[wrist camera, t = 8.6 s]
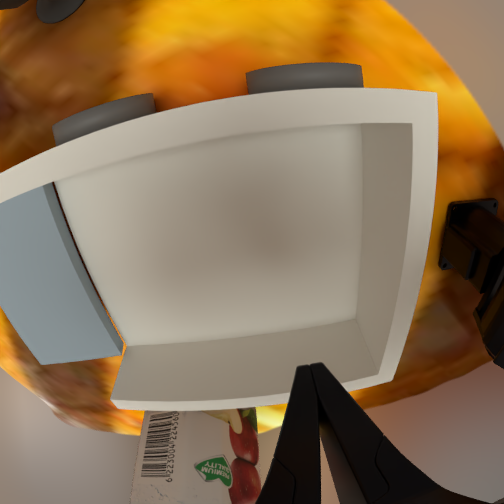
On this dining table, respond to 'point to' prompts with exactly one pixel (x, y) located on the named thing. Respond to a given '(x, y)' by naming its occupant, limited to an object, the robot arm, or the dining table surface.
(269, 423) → the dining table surface
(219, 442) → the juice carton
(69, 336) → the panel
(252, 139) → the cart
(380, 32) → the dining table surface
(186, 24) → the dining table surface
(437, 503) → the robot arm
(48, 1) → the sundae
